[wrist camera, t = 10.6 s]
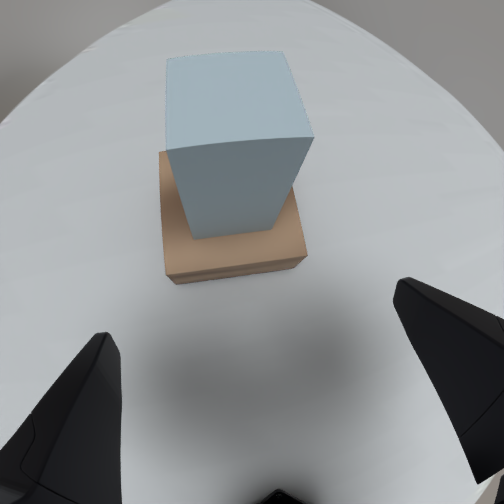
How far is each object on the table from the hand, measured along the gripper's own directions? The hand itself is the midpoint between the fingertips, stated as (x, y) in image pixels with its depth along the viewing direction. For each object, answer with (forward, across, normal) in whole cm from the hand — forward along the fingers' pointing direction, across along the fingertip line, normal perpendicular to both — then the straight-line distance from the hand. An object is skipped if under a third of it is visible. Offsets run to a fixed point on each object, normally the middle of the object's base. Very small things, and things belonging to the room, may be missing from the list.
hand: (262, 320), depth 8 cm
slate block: (+12, 0, +1) cm, 13 cm away
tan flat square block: (+15, 0, +4) cm, 16 cm away
